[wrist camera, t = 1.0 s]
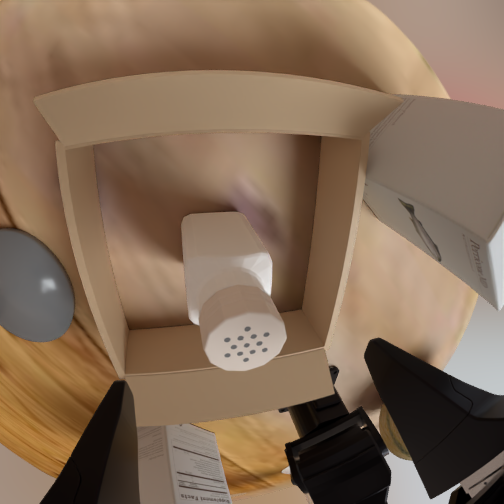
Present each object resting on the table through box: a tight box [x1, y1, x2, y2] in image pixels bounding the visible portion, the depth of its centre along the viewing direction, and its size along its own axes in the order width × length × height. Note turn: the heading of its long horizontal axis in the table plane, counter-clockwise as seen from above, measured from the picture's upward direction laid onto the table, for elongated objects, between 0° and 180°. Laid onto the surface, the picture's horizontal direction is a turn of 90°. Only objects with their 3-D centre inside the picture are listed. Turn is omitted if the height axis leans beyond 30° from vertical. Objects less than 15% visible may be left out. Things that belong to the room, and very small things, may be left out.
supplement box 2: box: [363, 94, 504, 311], centre depth 13 cm, size 7×7×13 cm
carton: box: [33, 70, 404, 427], centre depth 15 cm, size 19×15×7 cm
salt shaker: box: [181, 212, 287, 371], centre depth 14 cm, size 4×4×10 cm
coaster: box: [0, 228, 75, 342], centre depth 16 cm, size 10×10×1 cm
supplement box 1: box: [137, 424, 232, 504], centre depth 22 cm, size 9×9×15 cm
